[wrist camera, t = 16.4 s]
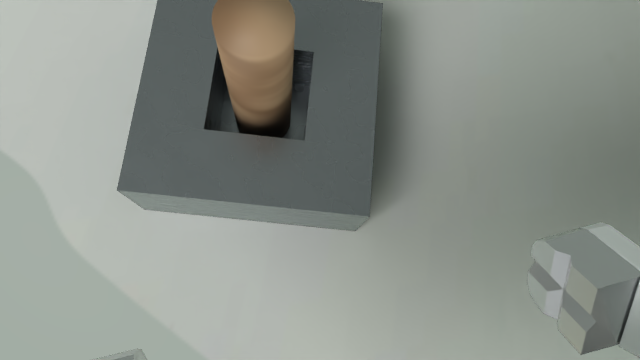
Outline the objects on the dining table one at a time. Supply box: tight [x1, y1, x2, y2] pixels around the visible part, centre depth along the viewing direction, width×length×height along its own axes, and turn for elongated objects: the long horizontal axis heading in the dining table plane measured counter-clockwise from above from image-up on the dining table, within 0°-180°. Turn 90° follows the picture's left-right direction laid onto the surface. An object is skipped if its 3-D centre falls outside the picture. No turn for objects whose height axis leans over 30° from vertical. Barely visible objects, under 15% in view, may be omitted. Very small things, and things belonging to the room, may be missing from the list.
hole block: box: [117, 0, 383, 231], centre depth 26 cm, size 12×12×4 cm
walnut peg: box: [212, 0, 295, 138], centre depth 23 cm, size 3×3×10 cm
